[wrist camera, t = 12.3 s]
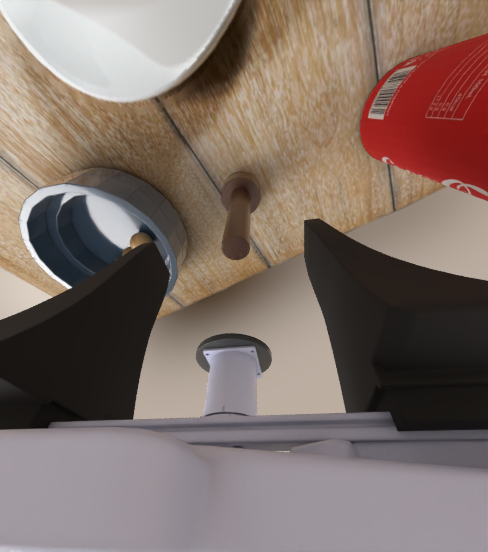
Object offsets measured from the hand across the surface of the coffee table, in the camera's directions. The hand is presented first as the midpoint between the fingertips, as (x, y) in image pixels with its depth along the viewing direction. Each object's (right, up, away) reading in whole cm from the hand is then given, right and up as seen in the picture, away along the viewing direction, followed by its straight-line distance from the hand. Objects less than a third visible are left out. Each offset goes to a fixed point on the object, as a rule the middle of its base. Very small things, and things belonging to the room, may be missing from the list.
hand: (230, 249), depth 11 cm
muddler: (0, +6, +8) cm, 10 cm away
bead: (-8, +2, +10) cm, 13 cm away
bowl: (-11, +3, +11) cm, 16 cm away
